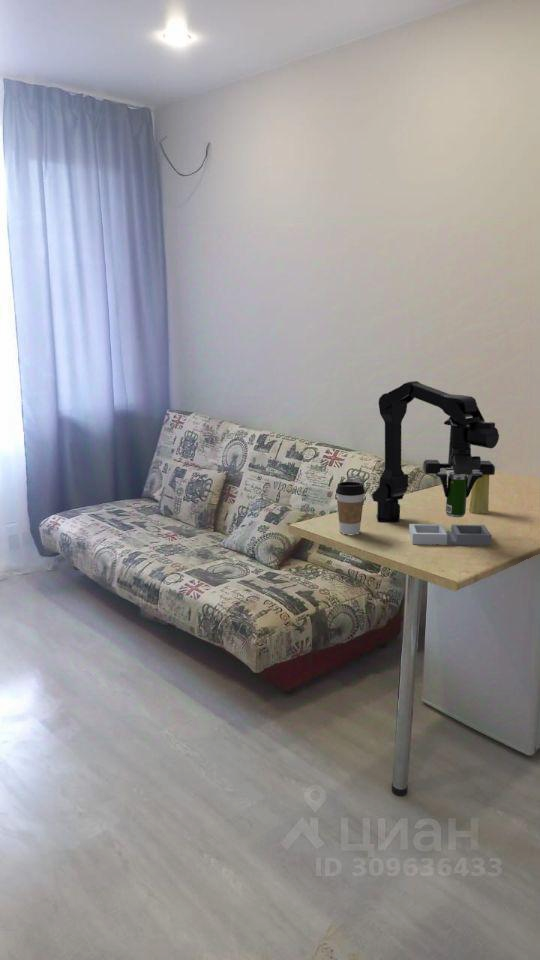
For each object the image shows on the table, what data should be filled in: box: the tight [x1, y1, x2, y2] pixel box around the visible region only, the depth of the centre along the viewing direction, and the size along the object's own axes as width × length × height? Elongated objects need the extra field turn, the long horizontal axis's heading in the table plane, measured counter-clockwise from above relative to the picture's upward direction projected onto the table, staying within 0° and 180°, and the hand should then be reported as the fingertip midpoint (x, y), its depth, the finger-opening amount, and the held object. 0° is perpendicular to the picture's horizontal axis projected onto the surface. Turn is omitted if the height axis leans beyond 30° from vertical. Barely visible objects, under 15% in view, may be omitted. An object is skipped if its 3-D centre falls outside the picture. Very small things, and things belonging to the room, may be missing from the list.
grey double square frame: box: [408, 523, 492, 546], centre depth 199 cm, size 21×9×3 cm, turn 85°
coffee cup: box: [335, 481, 366, 535], centre depth 205 cm, size 8×8×15 cm
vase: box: [468, 474, 491, 515], centre depth 224 cm, size 6×6×14 cm
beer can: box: [445, 471, 468, 518], centre depth 196 cm, size 5×5×12 cm
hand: (456, 496), depth 196 cm, fingers closed on beer can, 5 cm apart
